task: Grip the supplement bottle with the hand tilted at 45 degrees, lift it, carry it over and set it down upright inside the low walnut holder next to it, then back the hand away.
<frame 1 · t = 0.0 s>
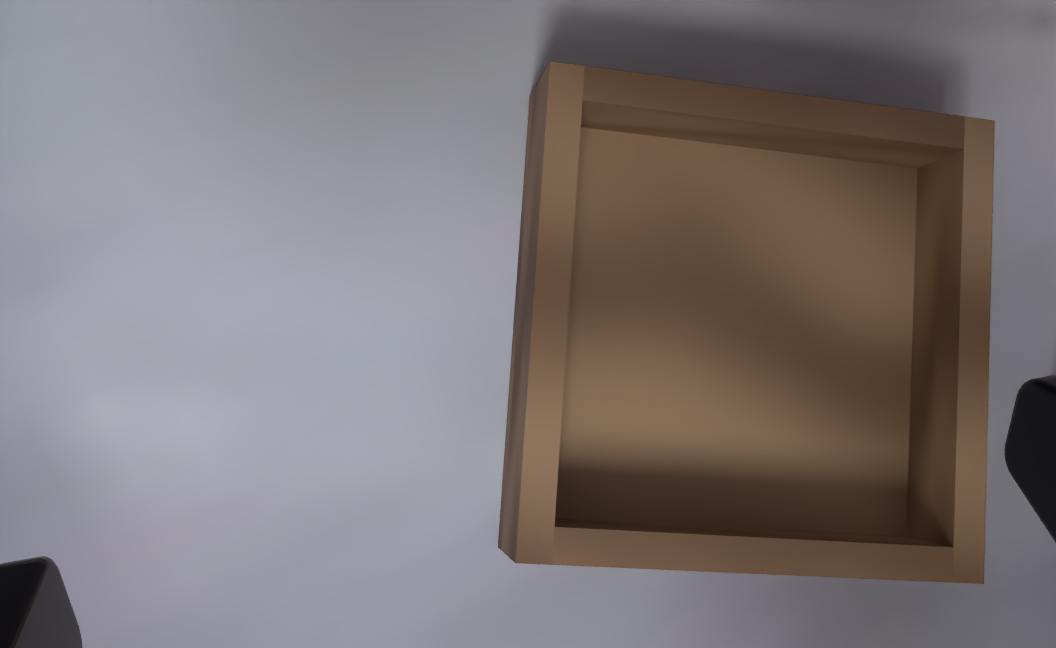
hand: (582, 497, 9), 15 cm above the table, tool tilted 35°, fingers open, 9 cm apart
walnut holder: (729, 335, 25), on the table
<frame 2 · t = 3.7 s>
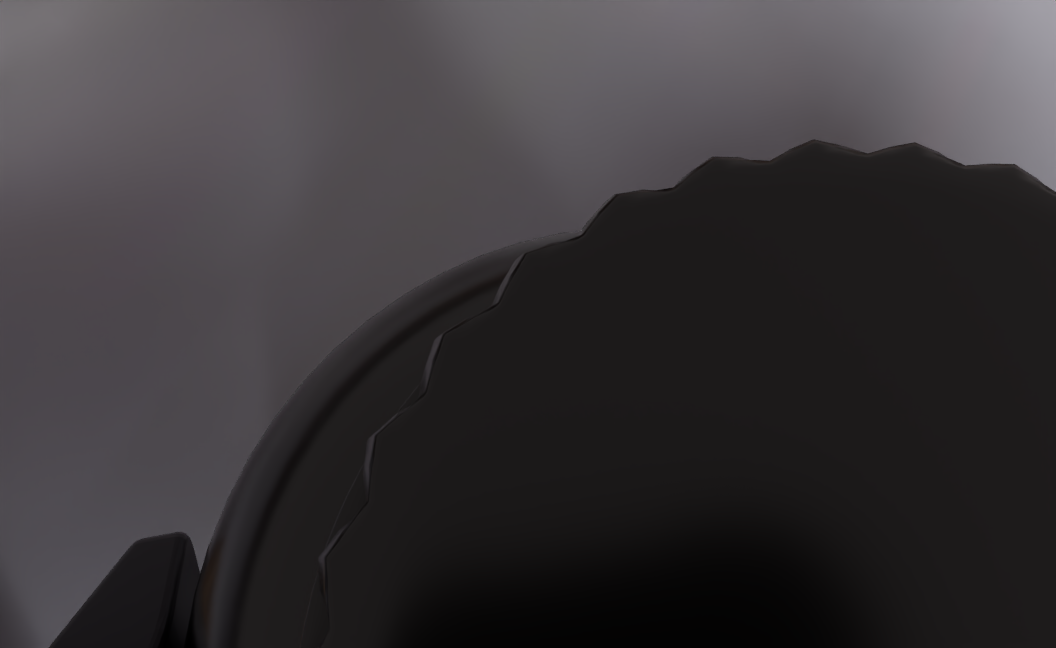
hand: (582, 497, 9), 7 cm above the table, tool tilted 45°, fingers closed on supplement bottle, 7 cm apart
supplement bottle: (515, 644, 15), on the table, touching gripper
when the fingers open (8 cm above the table, at t = 8.4 s): supplement bottle stays where it is, resting on walnut holder.
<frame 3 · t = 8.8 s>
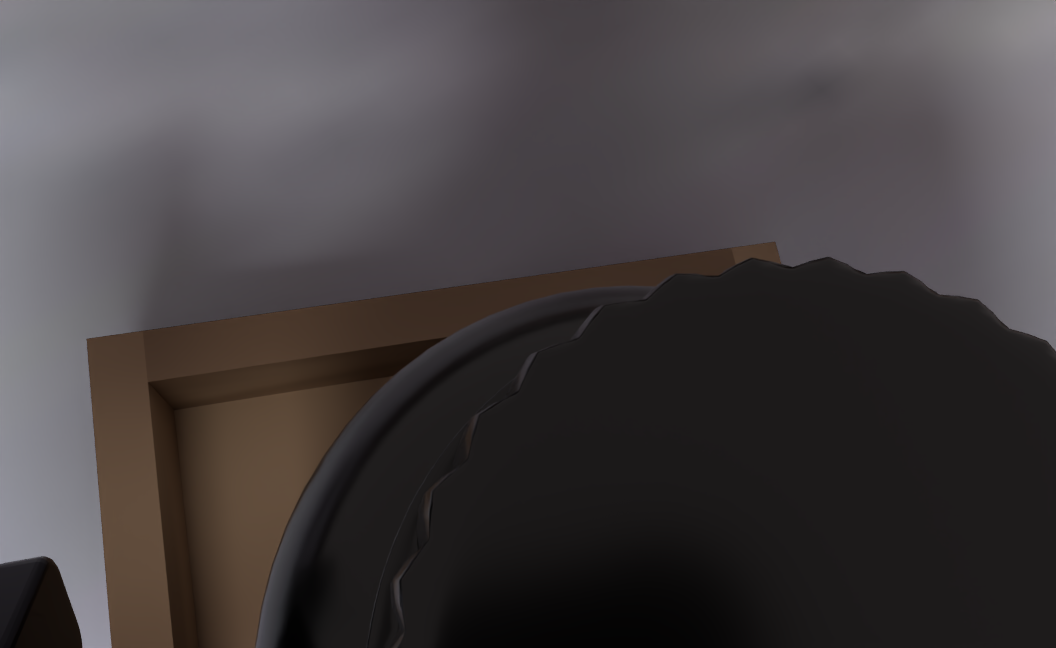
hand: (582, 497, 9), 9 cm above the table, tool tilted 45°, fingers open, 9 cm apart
supplement bottle: (523, 643, 17), resting on walnut holder
walnut holder: (500, 643, 17), on the table
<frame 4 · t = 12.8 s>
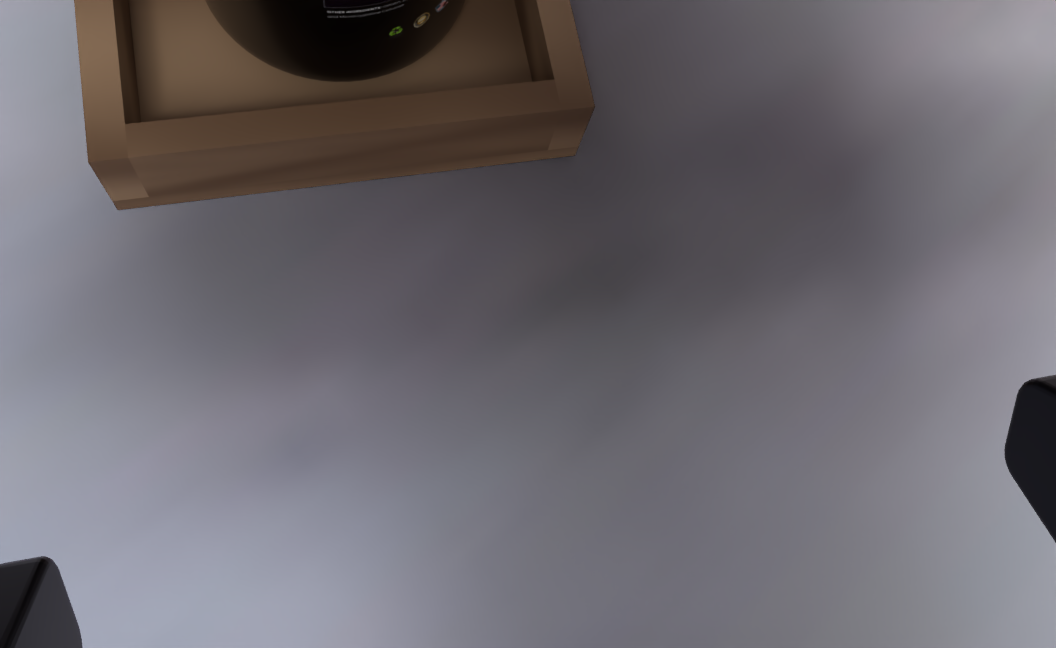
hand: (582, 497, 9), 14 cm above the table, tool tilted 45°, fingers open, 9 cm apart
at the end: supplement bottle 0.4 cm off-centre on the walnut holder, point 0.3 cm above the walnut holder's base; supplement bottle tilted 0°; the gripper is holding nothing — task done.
